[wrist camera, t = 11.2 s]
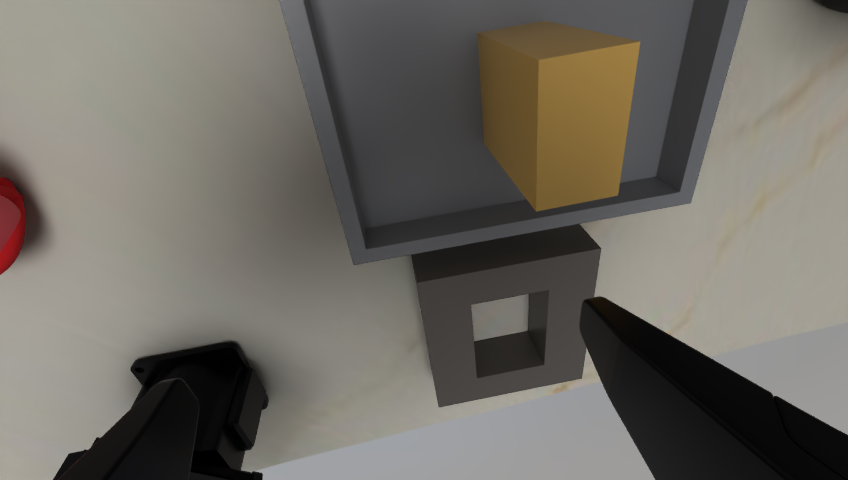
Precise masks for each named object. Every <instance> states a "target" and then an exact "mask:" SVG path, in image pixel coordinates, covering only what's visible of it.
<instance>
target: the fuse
mask: <svg viewBox="0 0 848 480" xmlns="http://www.w3.org/2000/svg"><path fill="white" fill-rule="evenodd" d="M477 34H478V51H479V68H480V84H481V101H482V118H483V134H484V144H485V146H486V147H487V148H488V150H489V151H490V152H491V154H492V155H493V156H494V158H495V159H496V160H497V161H498V163H499V164H500V165H501V167H502V168H503V169H504V171H505V172H506V173H507V174H508V176H509V177H510V178H511V180H512V181H513V182H514V184H515V185H516V186H517V187H518V189H519V190H520V191H521V193H522V194H523V195H524V197H525V198H526V199H527V200H528V202H529V203H530V204H531V206H532V207H533V208H534V210H535V211H536V212H537V211H542V210H547V209H552V208H557V207H562V206H567V205H572V204H577V203H583V202H588V201H593V200H598V199H603V198H608V197H613V196H618V192H619V185H620V178H621V171H622V165H623V158H624V151H625V144H626V137H627V130H628V123H629V116H630V110H631V103H632V96H633V89H634V82H635V75H636V68H637V61H638V55H639V48H640V41H636V40H631V39H627V38H622V37H618V36H613V35H608V34H604V33H599V32H595V31H590V30H586V29H581V28H577V27H572V26H568V25H563V24H559V23H554V22H549V21H540V22H535V23H529V24H523V25H518V26H512V27H507V28H501V29H495V30H490V31H484V32H479V33H477Z"/></svg>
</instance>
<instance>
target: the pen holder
mask: <svg viewBox="0 0 848 480" xmlns="http://www.w3.org/2000/svg"><path fill="white" fill-rule="evenodd" d="M819 1H820V2H821V3H822V4H824V5H825V6H827V7H828V8H831V9H834V10H837V11H840V12H844V13H848V0H819Z"/></svg>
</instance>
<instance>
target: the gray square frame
mask: <svg viewBox="0 0 848 480" xmlns="http://www.w3.org/2000/svg"><path fill="white" fill-rule="evenodd" d="M600 253H601V248H600V247H599V245H598V244H597V243H596V242H595V241H594V240H593V239H592V238H591V237H590V235H589V234H588V233H587V232H586V231H585V230H584V229H583V228H582V227H581V226H580V224H575V225H569V226H564V227H558V228H553V229H547V230H542V231H536V232H531V233H526V234H520V235H515V236H509V237H504V238H498V239H493V240H488V241H482V242H477V243H471V244H466V245H460V246H455V247H450V248H444V249H439V250H433V251H428V252H422V253H417V254H411V256H412V261H413V267H414V273H415V278H416V284H417V290H418V295H419V301H420V307H421V312H422V318H423V324H424V329H425V335H426V341H427V346H428V352H429V358H430V363H431V369H432V374H433V380H434V385H435V390H436V395H437V401H438V406H439V407H443V406H448V405H453V404H458V403H463V402H468V401H473V400H478V399H483V398H488V397H493V396H498V395H503V394H508V393H512V392H517V391H522V390H527V389H532V388H537V387H542V386H547V385H552V384H557V383H562V382H567V381H572V380H577V379H582V374H583V367H584V360H585V354H586V345H585V342H584V340H583V338H582V336H581V333H580V328H579V323H580V315H581V307H582V302H583V301H584V300H585V299H589V298H594V293H595V287H596V280H597V273H598V266H599V260H600ZM524 294H529V317H528V331H527V332H522V333H517V334H512V335H507V336H502V337H497V338H492V339H486V340H481V341H476V342H474V336H473V324H472V312H471V305H472V304H477V303H482V302H488V301H493V300H498V299H503V298H509V297H514V296H519V295H524Z"/></svg>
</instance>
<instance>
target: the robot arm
mask: <svg viewBox="0 0 848 480" xmlns="http://www.w3.org/2000/svg"><path fill="white" fill-rule="evenodd" d="M579 328H580V333H581V336H582V338H583V340H584V342H585V345H586V347H587V349H588V352H589V354H590V356H591V359H592V361H593V363H594V365H595V368H596V370H597V372H598V375H599V377H600V379H601V382H602V384H603V386H604V388H605V390H606V393H607V395H608V397H609V399H610V400H611V402H612V404H613V406H614V408H615V409H616V411H617V413H618V415H619V416H620V418H621V420H622V422H623V423H624V425H625V427H626V428H627V431H628V432H629V434H630V436H631V438H632V439H633V441H634V443H635V445H636V446H637V448H638V450H639V452H640V453H641V455H642V457H643V458H644V460H645V462H646V464H647V466H648V467H649V469H650V471H651V473H652V474H653V476H654V478H655V480H848V435H847V434H845V433H843V432H841V431H839V430H837V429H835V428H833V427H831V426H830V425H828V424H826V423H824V422H822V421H821V420H819V419H817V418H815V417H814V416H812V415H810V414H808V413H806V412H804V411H803V410H801V409H799V408H797V407H795V406H793V405H792V404H790V403H788V402H787V401H785V400H783V399H781V398H780V397H778V396H774V397H773V395H772V393H771V392H769V391H767V390H765V389H764V388H762V387H760V386H758V385H757V384H755V383H753V382H751V381H750V380H748V379H746V378H744V377H743V376H740V375H739V374H737V373H736V372H734V371H732V370H730V369H729V368H727V367H725V366H723V365H722V364H720V363H718V362H716V361H714V360H713V359H711V358H709V357H708V356H706V355H704V354H702V353H701V352H699V351H697V350H695V349H694V348H692V347H690V346H688V345H687V344H685V343H683V342H681V341H679V340H678V339H676V338H674V337H672V336H671V335H669V334H667V333H665V332H664V331H662V330H660V329H658V328H657V327H655V326H653V325H651V324H650V323H648V322H646V321H644V320H643V319H641V318H639V317H637V316H636V315H634V314H632V313H630V312H629V311H627V310H625V309H623V308H622V307H620V306H618V305H616V304H615V303H613V302H611V301H609V300H608V299H606V298H604V297H594V298H589V299H585V300H584V301H583V302H582V307H581V315H580V323H579ZM229 350H231V351H229ZM130 370H131V372H132V373H133V374H134V376H135V377H136V378H137V379H138V380H139V382H140V383H141V384H142V385H143V387H142V388H141V390H140V392H139V394H138V396H137V398H136V400H135V402H134V404H133V405H132V407H131V409H130V410H129V411H128V412H127V413H126V414H125V415H124V416H123V417H122V418H121V419H120V420H119V421H118V422H117V423H116V424H115V425H114V426H113V427H112V428H111V429H110V430H109V431H107V432H106V433H105V434H104V435H103V436H102V437H101V438H98V437H97V438H96V440H95V441H94V443H93V445H92V446H91V448H90V449H89V450H85V449H84V451H80V452H75V453H70V454H68V456H67V458H66V459H65V461H64V463H63V464H62V466H61V467H60V469H59V471H58V472H57V474H56V476H55V477H54V479H53V480H262V476H263V474H262V473H259V472H254V471H253V472H252V473H251V472H246V471H241V467H242V463H243V458H244V454H245V451H247V450H251V449H252V447H253V446H254V443H255V438H256V434H257V429H258V425H259V420H260V416H261V411H262V410H263V409H266V408H267V406H268V402H269V400H268V398H267V396H266V394H265V393H266V391H265V389H264V387H263V386H262V384H261V382H260V380H259V378H258V377H257V375H256V373H255V371H254V370H253V369H252V368H251V367H250V366H249V364H248V362H247V360H246V359H245V357H244V355H243V353H242V351H241V350H240V348H239V346H238V345H237V344H235V343H224V344H219V345H214V346H208V347H203V348H198V349H193V350H187V351H182V352H177V353H172V354H166V355H161V356H156V357H151V358H145V359H140V360H136V361H135V362H134V363H133V365H132V366H131V369H130Z"/></svg>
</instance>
